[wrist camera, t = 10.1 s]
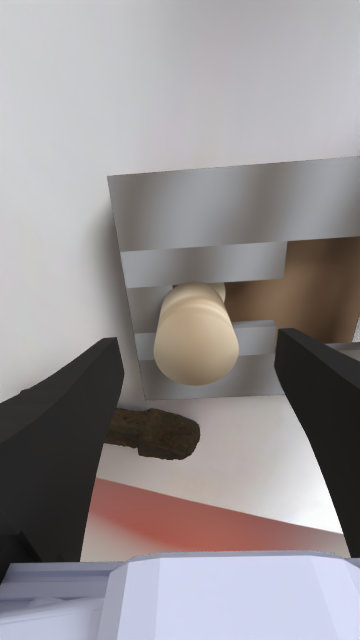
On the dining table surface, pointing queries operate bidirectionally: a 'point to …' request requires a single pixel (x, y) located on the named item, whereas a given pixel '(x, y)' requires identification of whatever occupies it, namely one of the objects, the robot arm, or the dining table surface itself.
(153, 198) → the keyhole plate
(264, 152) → the dining table surface
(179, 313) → the keyhole peg
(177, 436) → the hand tool
